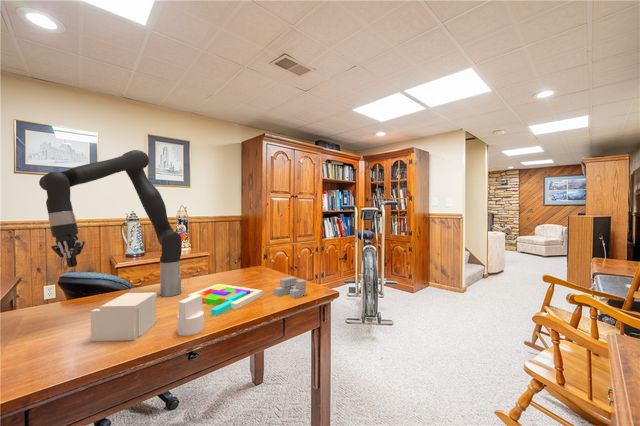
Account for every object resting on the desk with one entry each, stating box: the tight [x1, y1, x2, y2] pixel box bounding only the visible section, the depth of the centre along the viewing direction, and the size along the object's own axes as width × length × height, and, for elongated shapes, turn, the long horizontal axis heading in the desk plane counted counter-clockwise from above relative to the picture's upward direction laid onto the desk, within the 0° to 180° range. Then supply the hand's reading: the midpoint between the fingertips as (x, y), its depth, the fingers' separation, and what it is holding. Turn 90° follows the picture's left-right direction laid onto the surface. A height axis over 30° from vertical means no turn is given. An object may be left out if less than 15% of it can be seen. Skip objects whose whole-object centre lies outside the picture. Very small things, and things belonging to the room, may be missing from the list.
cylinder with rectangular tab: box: [176, 294, 205, 337], centre depth 100 cm, size 9×9×12 cm
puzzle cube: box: [273, 276, 307, 299], centre depth 140 cm, size 12×12×8 cm
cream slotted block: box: [90, 292, 158, 342], centre depth 98 cm, size 14×14×12 cm
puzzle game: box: [186, 283, 264, 317], centre depth 131 cm, size 30×3×30 cm
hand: (72, 266), depth 105 cm, fingers closed
